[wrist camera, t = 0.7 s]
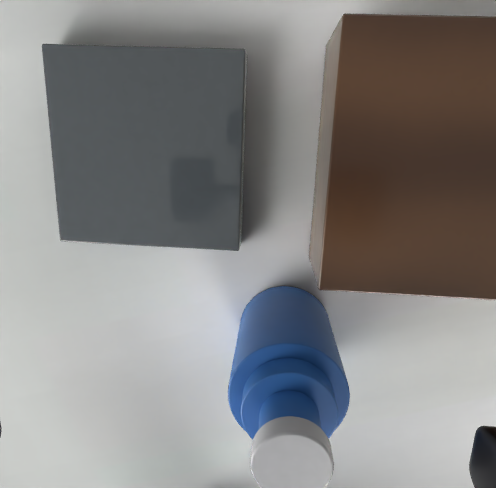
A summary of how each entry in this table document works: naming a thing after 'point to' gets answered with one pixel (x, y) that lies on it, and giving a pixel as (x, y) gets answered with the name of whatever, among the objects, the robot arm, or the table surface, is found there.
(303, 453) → the blue bottle
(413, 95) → the walnut block
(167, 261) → the table surface
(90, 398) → the table surface
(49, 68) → the slate tile
